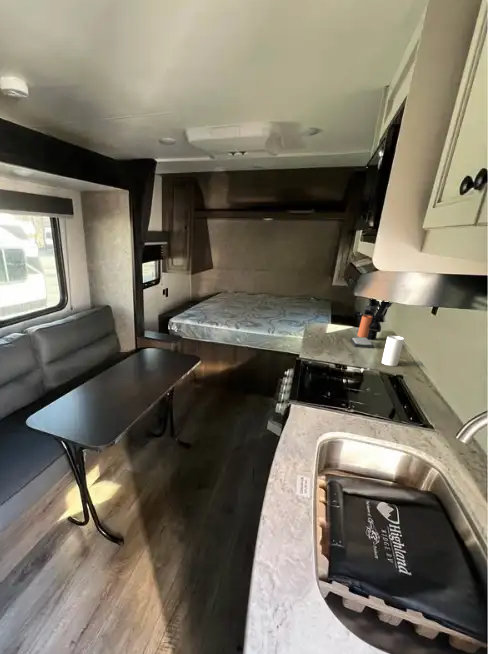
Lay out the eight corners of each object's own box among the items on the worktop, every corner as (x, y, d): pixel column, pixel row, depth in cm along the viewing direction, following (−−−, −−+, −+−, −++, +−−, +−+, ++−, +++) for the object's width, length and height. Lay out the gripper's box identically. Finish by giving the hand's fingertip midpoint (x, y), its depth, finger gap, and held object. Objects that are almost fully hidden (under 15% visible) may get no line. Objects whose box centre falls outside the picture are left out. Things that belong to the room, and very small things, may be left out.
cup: (399, 366, 190) (406, 339, 184) (384, 365, 192) (390, 339, 186) (394, 361, 198) (400, 335, 192) (379, 360, 199) (385, 335, 193)
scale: (350, 340, 238) (351, 337, 237) (367, 341, 235) (368, 338, 234) (354, 346, 224) (355, 343, 223) (372, 348, 222) (373, 344, 221)
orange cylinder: (357, 334, 230) (362, 314, 224) (367, 335, 227) (372, 316, 221) (357, 336, 225) (361, 316, 219) (367, 338, 222) (372, 318, 216)
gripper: (357, 299, 225) (348, 317, 222) (387, 302, 213) (378, 322, 210) (359, 308, 233) (350, 326, 230) (388, 312, 221) (379, 331, 218)
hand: (364, 326), depth 222 cm, fingers closed on orange cylinder, 6 cm apart
